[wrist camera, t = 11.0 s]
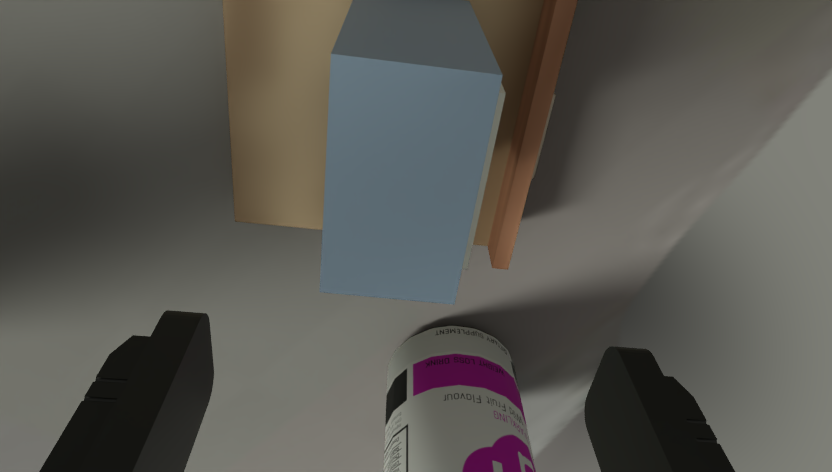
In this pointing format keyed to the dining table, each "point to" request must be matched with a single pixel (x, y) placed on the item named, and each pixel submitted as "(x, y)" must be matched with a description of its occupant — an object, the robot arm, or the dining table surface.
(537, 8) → the wooden plank
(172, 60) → the dining table surface
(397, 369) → the supplement can
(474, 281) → the dining table surface
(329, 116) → the carton
